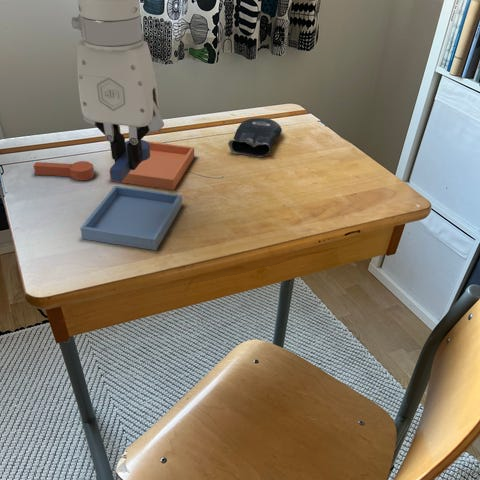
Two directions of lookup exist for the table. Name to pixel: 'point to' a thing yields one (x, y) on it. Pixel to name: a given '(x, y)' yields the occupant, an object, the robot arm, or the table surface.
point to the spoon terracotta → (66, 169)
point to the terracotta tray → (161, 166)
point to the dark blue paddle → (127, 163)
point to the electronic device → (255, 137)
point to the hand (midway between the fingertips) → (128, 164)
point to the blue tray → (132, 217)
